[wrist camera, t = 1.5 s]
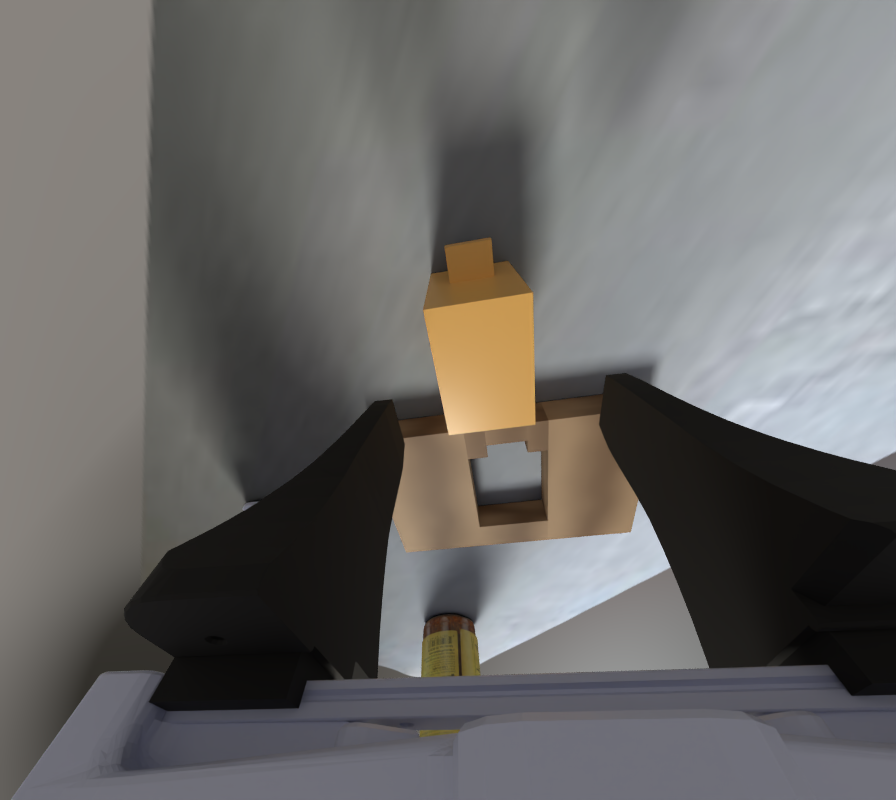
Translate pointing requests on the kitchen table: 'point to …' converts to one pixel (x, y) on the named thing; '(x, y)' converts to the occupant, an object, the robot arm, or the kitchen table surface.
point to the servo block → (481, 340)
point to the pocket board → (555, 516)
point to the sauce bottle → (449, 652)
